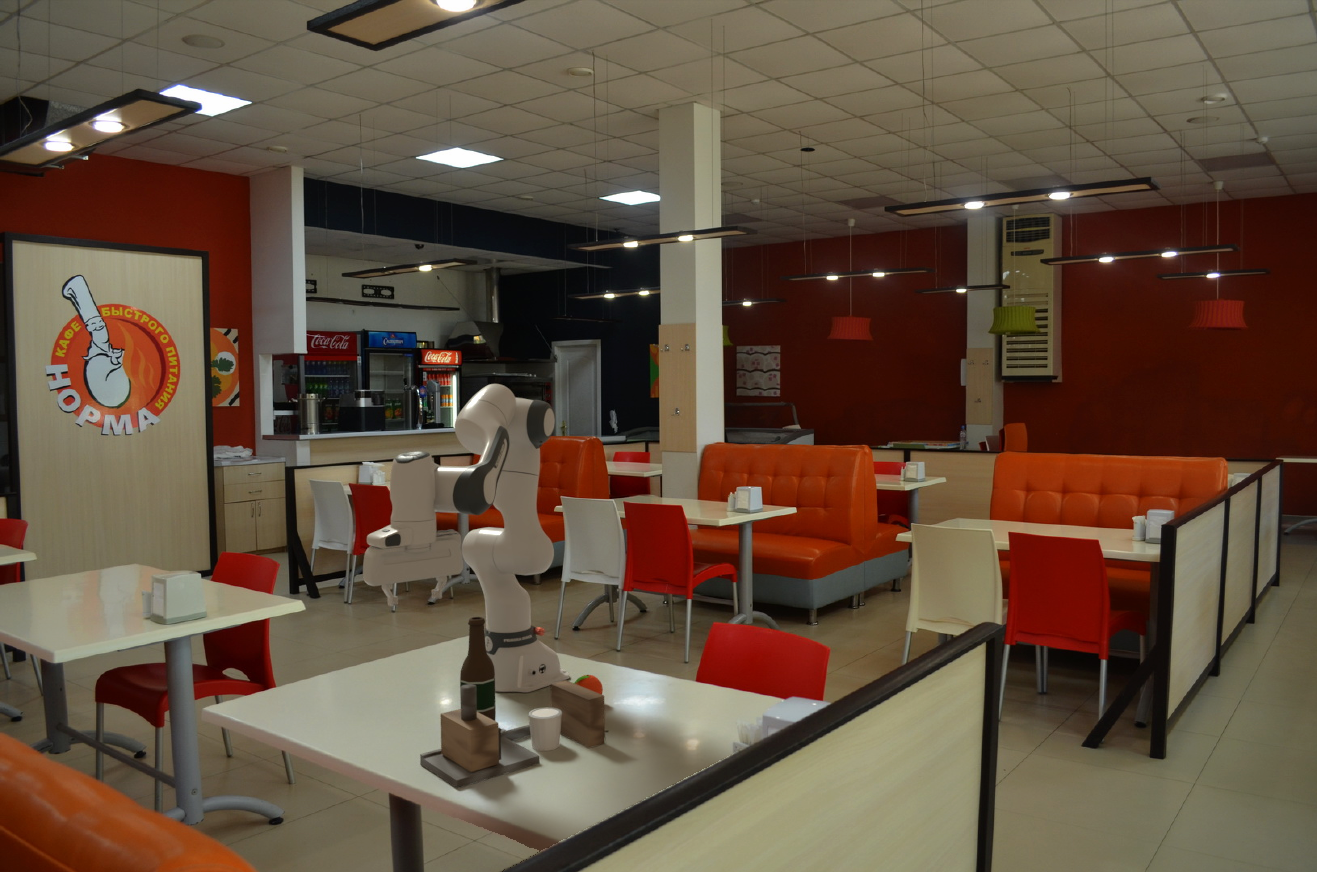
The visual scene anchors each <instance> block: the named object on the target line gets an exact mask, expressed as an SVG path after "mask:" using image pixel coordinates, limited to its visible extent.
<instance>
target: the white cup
mask: <svg viewBox="0 0 1317 872" xmlns="http://www.w3.org/2000/svg"><path fill="white" fill-rule="evenodd" d="M561 718H562V712H561V710H559V709H557V708H551V707H548V706H547V707H538V708H534V709H532V710H530V711H529V712H528V721H529V724H530V733H531V735H530V740H531V747H532V749H533V750H535V751H540V752H548V751H552V750H556V749H558V748H559V747H560V741H561V734H560V731H561Z"/></svg>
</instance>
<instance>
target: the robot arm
mask: <svg viewBox="0 0 1317 872" xmlns="http://www.w3.org/2000/svg"><path fill="white" fill-rule="evenodd" d="M555 421H556V417H555V411H554V409H553V407H552V406H551V404H550V403H548V402H547V401H543V400H539V399H527V398H523V397H516V396H515V394H514V393H513V391H512V390H511V389H510V388H508V387H507V386H505V385H503V384H499V383H491V384H490V383H489V384H488V385H486V386H484V387H482V388H481V389H480V390H479V391H477V392H476V393H475V394H474V395H472V397H471V398H470V399H469V400H468V401H467V402H466V404H465V405H464V406H463V408H462V409H461V410H460V411H459V413H458V414H457V417H456V419H455V422H454V432H455V436H456V438H457V440H458V441H459V443H460V445H461V446H462V447H464V449H466V450H467V451H468V452H470V453H472V454H475V455H479V456H480V458H479V461H478V462H477V463H476V464H473V465H466V466H462V465H461V466H459V465H456V466H454V465H451V466H450V465H440V464H437V463H435V462H434V461H433V456H432V455H431V453H430V452H427V451H421V450H419V451H418V450H416V451H409V452H404V453H400V454H398V455H396V456H395V457H394V458H393V460H392V465H391V469H390V482H389V499H390V502H391V506H392V511H391V515H390V524H389V525H386V526H384V527H383V528H381V529H377V530H376V531H373V532H371V533H369V534H367V536H366V543H367V545H369V547H367V549H366V550H365V552H364V555H363V563H362V578H363V581H364V582H365V584H367V585H368V586H371V587H378V586H381V589H382V591H383V593H384V594H385V596H386V597H387V605H388V606H389V607H395V606H396V607H397V606H398V605H399V596H396V595H394V594H393V592H392V591H391V590H393V587H394V586H393V585H394V584H399V583H406V582H413V581H419V580H420V581H421V580H427V579H434V578H435V580H436V581H437V583H436V586H435V588H434V589H431V599H432V600H439V599H440V600H441V599H442V598H443V590H444V588H445V586H446V585H447V582H448V576H455V575H460V574H461V573H462V572H463V569H464V562H465V563H466V564H467V565H468V566H469V567H470V568H471V570H472V571H473V573H474V574H475V575H476V578H477V579H478V582H479V583H480V587H481V589H482V592H483V597H484V605H485V606H484V607H485V626H486V627H484V633H485V645H486V651H487V654H488V656H489V657H490V658H491V660H492V662H493V665H494V670H495V692H501V693H504V692H509V693H510V692H515V693H516V692H517V693H531V692H534V691H537V690H540V689H542V688H545V687H549V686H551V684H553V683H557V682H561V681H565V680H568V679H570V673H569V672H568V671H567V670H566V669H565V668H562V667H561V663H560V658H559V655H558V654H557V652H556V651H554V650H553V649H552V648H550V646H548V645H546V644H545V643H543V642H542V641H540V640H539V639H538V636H540V637H542V636H545V632H546V629H545V628H544V627H540V626H537V627H535V626H533V625H531V624H532V622H531V621H532V618H531V615H532V614H531V597H530V595H529V593H528V591H527V590H526V589H525V588H524V587H522V586H521V585H520V583H519V581H518V579H517V578H516V575H519V576H520V575H521V576H533V575H538V574H539V575H540V574H542V573H543V574H544V573H545V572H546V571H548V569H549V568H550V567H551V565H552V563H553V562H554V558H555V550H554V544H553V541H552V540H551V538H550V537H549V536H548V535H547V534H546V533H545V531H544V530H543V528H542V525H541V523H540V519H539V516H538V509H537V500H538V487H539V478H540V470H541V469H540V468H541V467H540V466H541V449H540V448H541V447H542V446H543V444H544V443H546V442H548V441H549V439H550V438H551V436H552V435H553V432H554V430H555ZM492 505H493V507H494V508H495V509H496V510H498V511H499V512H500V513H501V516H502V519H503V524H504V525H503V526H504V528H503V527H493V526H491V527H490V526H488V527H481V528H477V529H472V530H470V531H469V532H468V533H467V534H466V535H465V536H464V539H463V541H462V536H461V534H460V533H459V532H458V531H456V530H455V529H447V530H437V514H436V513H453V514H463V515H464V514H465V515H473V516H479V515H480V516H481V515H482V514H484V513H485V512H487V510H489V508H491V507H492Z"/></svg>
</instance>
